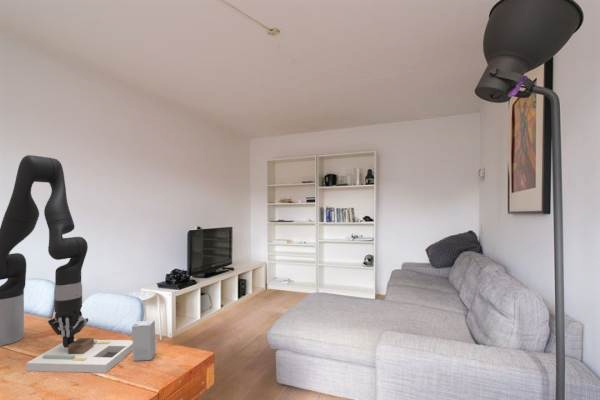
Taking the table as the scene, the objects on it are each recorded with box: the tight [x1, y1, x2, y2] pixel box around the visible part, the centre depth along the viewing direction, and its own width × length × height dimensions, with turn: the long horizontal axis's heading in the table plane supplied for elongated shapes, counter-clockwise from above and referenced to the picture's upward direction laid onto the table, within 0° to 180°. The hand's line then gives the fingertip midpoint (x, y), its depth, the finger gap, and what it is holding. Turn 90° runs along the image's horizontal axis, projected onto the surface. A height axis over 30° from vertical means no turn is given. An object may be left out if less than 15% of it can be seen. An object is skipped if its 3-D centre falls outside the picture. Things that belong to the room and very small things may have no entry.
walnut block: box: [68, 337, 95, 354], centre depth 101 cm, size 5×5×3 cm
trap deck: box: [25, 338, 133, 374], centre depth 101 cm, size 26×16×3 cm, turn 87°
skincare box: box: [131, 320, 157, 362], centre depth 101 cm, size 6×4×12 cm
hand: (68, 346), depth 101 cm, fingers closed
